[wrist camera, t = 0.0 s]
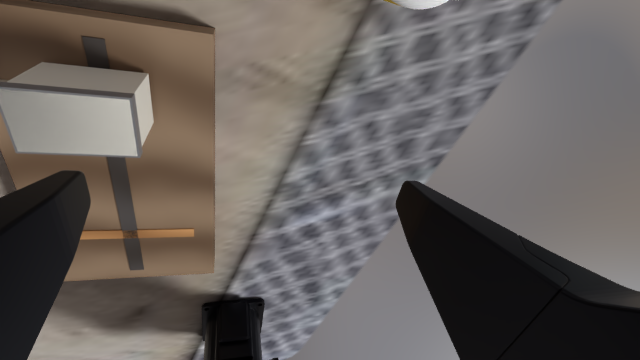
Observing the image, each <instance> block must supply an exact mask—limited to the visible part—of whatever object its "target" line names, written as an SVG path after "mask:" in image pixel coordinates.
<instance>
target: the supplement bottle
mask: <svg viewBox="0 0 640 360" xmlns="http://www.w3.org/2000/svg"><path fill="white" fill-rule="evenodd" d="M384 1H387V2H390V3H393V4H396V5H399V6H402V7H406V8H411V9H428V8H432V7H436V6H438V5H441V4H443V3H445V2H447V1H448V0H384Z"/></svg>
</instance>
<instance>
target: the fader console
mask: <svg viewBox="0 0 640 360" xmlns="http://www.w3.org/2000/svg"><path fill="white" fill-rule="evenodd" d="M41 62H46V63H56V64H65V65H74V66H84V67H93V68H103V69H112V70H121V71H131V72H140V73H148V75H149V84H150V93H151V102H152V111H153V121H154V123H153V125H152V127H151V129H150V131H149V133H148V135H147V137H146V140H145V142H144V144H143V146H142V151H143V153H142V155H141V157H140V158H126V157H100V156H74V155H49V154H23V153H16V152H15V149H14V147H13V144H12V141H11V139H10V136H9V134H8V131H7V128H6V126H5V123H4V120H3V118H2V115H1V112H0V150H1V152H2V155H3V157H4V160H5V162H6V165H7V167H8V170H9V172H10V174H11V177H12V179H13V182H14V184H15V187H16V189H17V190H19V189H21V188H23V187H26V186H28V185H30V184H32V183H34V182H37V181H39V180H41V179H43V178H46V177H48V176H50V175H52V174H55V173H57V172H59V171H62V170H76V171H82V172H83V173H84V175H85V177H86V181H87V185H88V189H89V193H90V198H91V205H90V209H89V212H88V215H87V219H86V222H85V225H84V228H83V232H82V235H81V238H80V241H79V244H78V248H77V251H76V254H75V257H74V259H73V262H72V264H71V266H70V268H69V271H68V273H67V275H66V277H65V279H64V281H80V280H98V279H115V278H133V277H151V276H169V275H187V274H205V273H214V259H215V28H210V27H203V26H197V25H190V24H184V23H177V22H170V21H164V20H157V19H150V18H144V17H137V16H130V15H124V14H117V13H110V12H104V11H97V10H90V9H84V8H77V7H71V6H64V5H57V4H51V3H44V2H37V1H31V0H0V82H7V81H9V80H11V79H13V78H14V77H16V76H18V75H20V74H22V73H23V72H25V71H27V70H29V69H31V68H32V67H34V66H36V65H38V64H40V63H41Z"/></svg>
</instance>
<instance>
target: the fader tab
mask: <svg viewBox="0 0 640 360" xmlns="http://www.w3.org/2000/svg"><path fill="white" fill-rule="evenodd" d="M0 112H1V115H2V118H3V120H4V123H5V126H6V128H7V131H8V134H9V136H10V139H11V141H12V144H13V147H14V149H15V152H16V153H23V154H49V155H74V156H100V157H126V158H140V157H141V155H142V153H143V151H142V146H143V144H144V142H145V140H146V137H147V135H148V133H149V131H150V129H151V127H152V125H153V123H154V121H153V111H152V102H151V93H150V84H149V75H148V73H140V72H131V71H121V70H112V69H103V68H93V67H84V66H74V65H65V64H56V63H46V62H41V63H40V64H38V65H36V66H34V67H32V68H31V69H29V70H27V71H25V72H23V73H22V74H20V75H18V76H16V77H14V78H13V79H11V80H9V81H7V82H0Z"/></svg>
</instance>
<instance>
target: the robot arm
mask: <svg viewBox="0 0 640 360" xmlns="http://www.w3.org/2000/svg"><path fill="white" fill-rule="evenodd" d="M90 205H91V198H90V193H89V189H88V185H87V181H86V177H85V175H84V173H83V172H82V171H76V170H62V171H59V172H57V173H55V174H52V175H50V176H48V177H46V178H43V179H41V180H39V181H37V182H34V183H32V184H30V185H28V186H26V187H23V188H21V189H19V190H17V191H14V192H12V193H10V194H8V195H5V196H3V197H1V198H0V360H27V358H28V356H29V354H30V352H31V350H32V348H33V346H34V343H35V341H36V339H37V337H38V335H39V333H40V331H41V328H42V326H43V324H44V322H45V320H46V318H47V316H48V313H49V311H50V309H51V307H52V305H53V303H54V301H55V298H56V296H57V294H58V292H59V290H60V288H61V286H62V283H63V281H64V279H65V277H66V275H67V273H68V271H69V268H70V266H71V264H72V262H73V259H74V257H75V254H76V251H77V248H78V244H79V241H80V238H81V235H82V232H83V228H84V225H85V222H86V219H87V215H88V212H89V209H90ZM396 209H397V212H398V215H399V218H400V221H401V224H402V227H403V230H404V233H405V236H406V239H407V242H408V244H409V247H410V249H411V252H412V254H413V257H414V259H415V261H416V263H417V265H418V267H419V270H420V272H421V274H422V277H423V279H424V281H425V283H426V285H427V287H428V290H429V291H430V294H431V296H432V298H433V301H434V303H435V305H436V307H437V310H438V312H439V314H440V316H441V318H442V321H443V323H444V325H445V327H446V330H447V332H448V334H449V336H450V338H451V341H452V343H453V345H454V347H455V349H456V352H457V354H458V356H459V358H460V360H640V292H639V291H635V290H632V289H629V288H626V287H624V286H621V285H619V284H617V283H615V282H613V281H611V280H608V279H607V278H605V277H602V276H600V275H598V274H596V273H594V272H592V271H590V270H588V269H586V268H584V267H581V266H579V265H577V264H575V263H573V262H571V261H569V260H567V259H565V258H563V257H561V256H558V255H557V254H555V253H553V252H550V251H549V250H547V249H545V248H543V247H541V246H539V245H537V244H535V243H533V242H531V241H529V240H527V239H525V238H524V237H522V236H520V235H519V236H518V235H517V234H516V233H514V232H512V231H510V230H508V229H507V228H505V227H502V226H501V225H499V224H497V223H495V222H493V221H491V220H490V219H487V218H486V217H484V216H482V215H480V214H478V213H476V212H474V211H473V210H471V209H469V208H467V207H465V206H463V205H461V204H459V203H458V202H456V201H454V200H452V199H450V198H448V197H446V196H444V195H442V194H441V193H439V192H437V191H435V190H433V189H431V188H429V187H427V186H426V185H424V184H422V183H420V182H418V181H405V182H404V183H403V185H402V187H401V190H400V192H399V195H398V197H397V200H396ZM264 305H265V304H264V300H263V299H251V300H239V301H227V302H214V303H205V304H203V305H202V332H203V341H205V349H204V360H262V351H261V338H260V333H261V327H262V319H263V312H264ZM271 360H278V358H273V359H271Z"/></svg>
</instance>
